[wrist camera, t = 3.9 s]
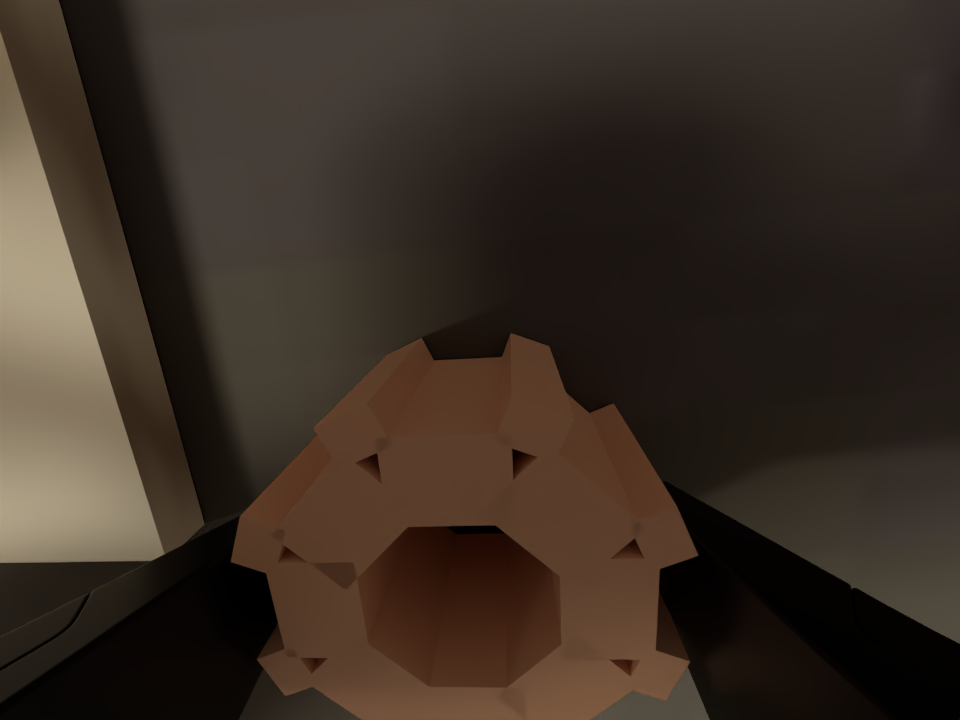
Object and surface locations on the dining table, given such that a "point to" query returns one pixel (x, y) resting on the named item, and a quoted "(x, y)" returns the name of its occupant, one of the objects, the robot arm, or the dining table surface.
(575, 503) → the gear
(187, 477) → the gear board
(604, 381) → the dining table surface
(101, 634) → the robot arm
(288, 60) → the dining table surface
